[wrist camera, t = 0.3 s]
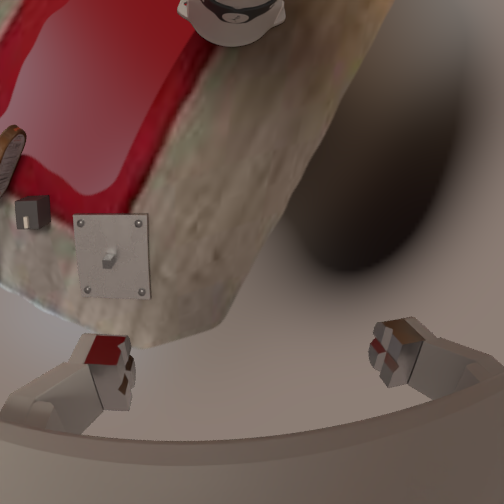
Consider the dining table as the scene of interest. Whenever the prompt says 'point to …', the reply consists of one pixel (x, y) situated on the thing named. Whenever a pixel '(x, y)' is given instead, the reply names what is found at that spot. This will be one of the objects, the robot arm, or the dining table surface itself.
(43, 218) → the labeled dark box
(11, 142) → the tin
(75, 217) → the hub plate
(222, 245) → the dining table surface
